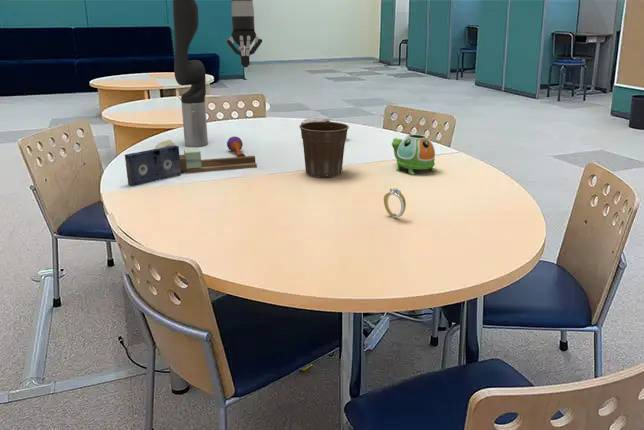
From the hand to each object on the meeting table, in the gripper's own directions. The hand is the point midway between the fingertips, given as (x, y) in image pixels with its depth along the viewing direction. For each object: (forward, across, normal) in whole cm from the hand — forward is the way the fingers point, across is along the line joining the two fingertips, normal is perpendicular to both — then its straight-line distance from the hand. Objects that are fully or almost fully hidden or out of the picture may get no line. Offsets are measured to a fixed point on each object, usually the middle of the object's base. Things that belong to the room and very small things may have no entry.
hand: (245, 67), depth 209 cm
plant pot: (+33, -20, +28) cm, 48 cm away
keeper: (+31, +21, +10) cm, 39 cm away
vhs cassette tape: (+33, +35, +18) cm, 51 cm away
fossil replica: (+33, +30, -2) cm, 45 cm away
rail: (+33, +13, +10) cm, 37 cm away
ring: (+33, -24, +76) cm, 86 cm away
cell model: (+33, -35, -18) cm, 52 cm away
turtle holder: (+33, -50, +33) cm, 69 cm away
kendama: (+33, +3, -6) cm, 34 cm away
